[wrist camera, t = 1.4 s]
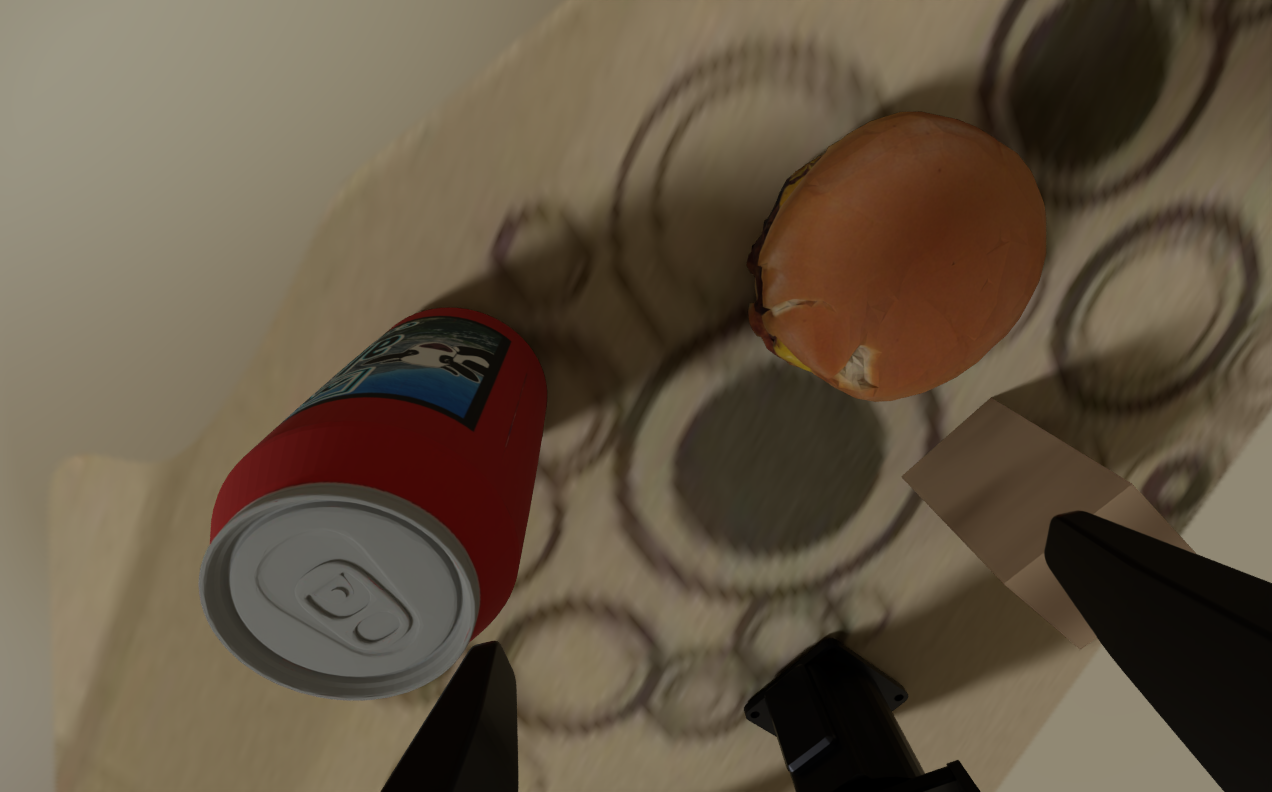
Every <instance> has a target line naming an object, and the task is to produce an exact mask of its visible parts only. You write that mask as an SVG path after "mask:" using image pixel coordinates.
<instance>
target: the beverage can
mask: <svg viewBox="0 0 1272 792" xmlns="http://www.w3.org/2000/svg"><path fill="white" fill-rule="evenodd" d="M546 406H547V386H546V380H545V376H544V373H543V370H542V367H541V365H540V363H539V361H538V359H537V357H536V355H535V354H534V352H533V351H532V349H531V348H530V346H529V345H528V344H527V343H526V342H525V341H524V339H523V338H522V337H521V336H520V335H519V334H517V333H516V332H515V331H514V330H513V329H511V328H510V327H509V326H507V325H506V324H504V323H503V322H501V321H499V320H497V319H495V318H493V317H491V316H489V315H486V314H483V313H481V312H477V311H474V310H469V309H462V308H436V309H430V310H425V311H422V312H419V313H416V314H414V315H411V316H409V317H407V318H405V319H403V320H402V321H400V322H399V323H397V324H396V325H395V326H393V327H392V328H391V329H390V330H389V331H387V332H386V333H385V334H384V335H382V336H381V337H380V338H379V339H378V340H376V341H375V342H374V343H373V344H371V345H370V346H369V347H368V348H367V349H366V350H364V351H363V352H362V353H361V354H360V355H358V356H357V357H356V358H355V359H354V360H353V361H351V362H350V363H349V364H348V365H347V366H346V367H344V368H343V369H342V370H341V371H340V372H339V373H337V374H336V375H335V376H334V377H333V378H332V379H331V380H329V381H328V382H327V383H326V384H325V385H324V386H323V387H321V388H320V389H319V390H318V391H317V392H316V393H315V394H313V395H312V396H311V397H310V398H309V399H308V400H307V401H305V402H304V403H303V404H302V405H301V406H300V407H299V408H297V409H296V410H295V411H294V412H293V413H292V414H291V415H290V416H289V417H288V418H286V419H285V420H284V421H283V422H282V423H281V424H280V425H279V426H278V427H276V428H275V429H274V430H273V431H272V432H271V433H270V434H269V435H268V436H267V437H265V438H264V439H263V440H262V441H261V442H260V443H259V444H258V445H257V446H255V447H254V448H253V449H252V450H251V451H250V452H249V453H248V454H247V455H246V456H244V457H243V458H242V459H241V461H240V462H239V463H238V464H237V465H236V466H235V467H234V468H233V470H232V471H231V472H230V473H229V475H228V476H227V478H226V480H225V481H224V483H223V485H222V487H221V489H220V491H219V494H218V496H217V499H216V503H215V506H214V509H213V514H212V519H211V534H210V545H209V547H208V549H207V551H206V553H205V555H204V558H203V561H202V564H201V568H200V575H199V595H200V600H201V605H202V608H203V611H204V614H205V616H206V618H207V621H208V623H209V625H210V627H211V628H212V630H213V632H214V633H215V635H216V636H217V637H218V639H219V640H220V641H221V643H222V644H223V645H224V646H225V647H226V648H227V649H228V650H229V651H230V652H231V653H232V654H233V655H234V656H235V657H236V658H237V659H238V660H239V661H240V662H241V663H243V664H244V665H246V666H247V667H249V668H250V669H251V670H253V671H254V672H256V673H257V674H259V675H261V676H263V677H264V678H266V679H268V680H270V681H272V682H274V683H276V684H278V685H281V686H283V687H286V688H289V689H291V690H294V691H297V692H300V693H304V694H308V695H312V696H316V697H321V698H328V699H336V700H373V699H381V698H387V697H391V696H395V695H399V694H403V693H407V692H409V691H412V690H414V689H417V688H419V687H421V686H424V685H425V684H427V683H429V682H431V681H433V680H434V679H436V678H437V677H439V676H440V675H441V674H443V673H444V672H445V671H447V670H448V669H449V668H450V667H451V666H452V665H453V664H454V663H455V662H456V661H457V659H458V658H459V657H460V656H461V655H462V653H463V652H464V650H465V649H466V647H467V645H468V643H469V642H470V641H472V640H473V639H474V638H475V637H476V636H477V635H479V634H480V633H481V632H482V631H483V630H484V629H485V628H486V627H487V626H488V625H489V624H490V623H491V622H492V621H493V620H494V619H495V618H496V617H497V615H498V614H499V613H500V611H501V610H502V608H503V607H504V606H505V604H506V602H507V600H508V599H509V597H510V595H511V593H512V590H513V588H514V585H515V582H516V579H517V574H518V569H519V564H520V558H521V553H522V548H523V543H524V538H525V532H526V527H527V522H528V517H529V511H530V506H531V500H532V494H533V489H534V483H535V477H536V471H537V465H538V459H539V453H540V447H541V441H542V435H543V427H544V420H545V413H546Z"/></svg>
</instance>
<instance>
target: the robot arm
mask: <svg viewBox="0 0 1272 792" xmlns="http://www.w3.org/2000/svg"><path fill="white" fill-rule="evenodd" d="M1044 556H1045V560H1046V563H1047V565H1048V567H1049V569H1050V570H1051V572H1052V573H1053V575H1054V576H1055V578H1056V579H1057V580H1058V582H1059V583H1060V585H1061V586H1062V588H1063V589H1064V591H1065V592H1066V593H1067V595H1068V596H1069V598H1070V599H1071V601H1072V602H1073V603H1074V605H1075V606H1076V608H1077V609H1078V611H1079V612H1080V614H1081V615H1082V616H1083V618H1084V619H1085V621H1086V622H1087V624H1088V625H1089V626H1090V628H1091V629H1092V631H1093V632H1094V634H1095V635H1096V636H1097V638H1098V639H1099V641H1100V642H1101V644H1102V645H1103V646H1104V648H1105V649H1106V650H1107V652H1108V653H1109V654H1110V656H1111V657H1112V658H1113V659H1114V661H1115V662H1116V663H1117V664H1118V666H1119V667H1120V668H1121V669H1122V671H1123V672H1124V673H1125V674H1126V675H1127V677H1128V678H1129V679H1130V680H1131V681H1132V683H1133V684H1134V685H1135V686H1136V687H1137V688H1138V690H1139V691H1140V692H1141V693H1142V694H1143V696H1144V697H1145V698H1146V699H1147V700H1148V702H1149V703H1150V704H1151V705H1152V706H1153V707H1154V709H1155V710H1156V711H1157V712H1158V713H1159V715H1160V716H1161V717H1162V718H1163V719H1164V721H1165V722H1166V723H1167V724H1168V725H1169V726H1170V728H1171V729H1172V730H1173V731H1174V733H1175V734H1176V735H1177V736H1178V737H1179V738H1180V740H1181V741H1182V742H1183V743H1184V744H1185V746H1186V747H1187V748H1188V749H1189V750H1190V752H1191V753H1192V754H1193V755H1194V756H1195V758H1197V760H1198V761H1199V762H1200V763H1201V765H1202V766H1203V767H1204V768H1205V769H1206V771H1207V772H1208V773H1209V774H1210V775H1211V776H1212V778H1213V779H1214V780H1215V781H1216V783H1217V784H1218V785H1219V786H1220V787H1221V788H1222V790H1223V791H1224V792H1272V583H1270V582H1267V581H1265V580H1262V579H1260V578H1257V577H1254V576H1251V575H1249V574H1246V573H1244V572H1241V571H1239V570H1236V569H1234V568H1231V567H1228V566H1226V565H1223V564H1221V563H1218V562H1216V561H1213V560H1210V559H1208V558H1205V557H1203V556H1200V555H1197V554H1195V553H1192V552H1190V551H1187V550H1184V549H1182V548H1179V547H1177V546H1174V545H1171V544H1169V543H1166V542H1164V541H1161V540H1159V539H1156V538H1153V537H1151V536H1148V535H1146V534H1143V533H1140V532H1138V531H1135V530H1133V529H1130V528H1127V527H1125V526H1122V525H1120V524H1117V523H1114V522H1112V521H1109V520H1107V519H1104V518H1101V517H1099V516H1096V515H1094V514H1091V513H1089V512H1085V511H1081V510H1076V511H1071V512H1067V513H1062V514H1058V515H1055V516H1054V517H1053V518H1052V519H1051V521H1050V525H1049V530H1048V535H1047V539H1046V544H1045V549H1044ZM907 698H908V694H907V692H906V690H905V688H904V687H903V686H902V685H900V684H899V683H898V682H896V681H895V680H893V679H892V678H890V677H889V676H887V675H886V674H885V673H883V672H882V671H880V670H879V669H877V668H876V667H875V666H873V665H872V664H870V663H869V662H867V661H866V660H864V659H863V658H862V657H860V656H859V655H857V654H856V653H854V652H853V651H851V650H850V649H849V648H847V647H846V646H844V645H843V644H841V643H840V642H839V641H837V640H835V639H826V640H824V641H822V642H821V643H820V644H819V645H818V646H816V647H815V648H814V649H813V650H812V651H810V652H809V653H808V654H807V655H805V656H804V657H803V658H802V659H801V660H799V661H798V662H797V663H796V664H795V665H793V666H792V667H791V668H790V669H789V670H787V671H786V672H785V673H784V674H783V675H781V676H780V677H779V678H778V679H776V680H775V681H774V682H773V683H772V684H770V685H769V686H768V687H767V688H766V689H764V690H763V691H762V692H761V693H760V694H758V695H757V696H756V697H755V698H753V699H752V700H751V701H750V702H749V703H747V704H746V705H745V707H744V711H745V715H746V718H747V719H748V720H749V721H751V722H752V723H754V724H756V725H757V726H759V727H761V728H763V729H764V730H766V731H768V732H769V733H771V734H773V735H775V736H776V737H777V739H778V742H779V745H780V748H781V751H782V755H783V758H784V761H785V764H786V767H787V769H788V771H789V772H790V775H791V778H792V781H793V784H794V787H795V790H796V792H980V790H979V789H978V787H977V786H976V784H975V783H974V782H973V780H972V779H971V777H970V776H969V774H968V773H967V771H966V770H965V769H964V767H963V766H962V764H961V763H960V761H959V760H956V761H953V762H950V763H947V766H946V767H943V768H940V769H937V770H935V771H932V772H929V773H926V774H925V772H924V771H923V769H922V767H921V765H920V763H919V761H918V759H917V758H916V756H915V754H914V752H913V750H912V748H911V746H910V745H909V743H908V741H907V739H906V737H905V735H904V733H903V732H902V730H901V728H900V726H899V724H898V722H897V720H896V719H895V717H894V715H893V713H892V711H893V710H894V709H896V708H897V707H898V706H900V705H901V704H902V703H904V702H905V701H906V700H907ZM381 792H518V736H517V690H516V679H515V675H514V672H513V669H512V667H511V665H510V663H509V661H508V658H507V656H506V654H505V652H504V650H503V648H502V646H501V644H500V643H499V642H498V641H490V642H486V643H481V644H477V645H474V646H473V647H472V648H471V649H470V650H469V651H468V653H467V655H466V656H465V658H464V659H463V661H462V663H461V664H460V666H459V667H458V669H457V671H456V672H455V674H454V675H453V677H452V678H451V680H450V682H449V683H448V685H447V686H446V688H445V690H444V691H443V693H442V694H441V696H440V698H439V699H438V701H437V702H436V704H435V706H434V707H433V709H432V710H431V712H430V713H429V715H428V717H427V718H426V720H425V721H424V723H423V725H422V726H421V728H420V729H419V731H418V733H417V734H416V736H415V737H414V739H413V741H412V742H411V744H410V745H409V747H408V749H407V750H406V752H405V753H404V755H403V756H402V758H401V760H400V761H399V763H398V764H397V766H396V768H395V769H394V771H393V772H392V774H391V776H390V777H389V779H388V780H387V782H386V784H385V785H384V787H383V788H382V790H381Z"/></svg>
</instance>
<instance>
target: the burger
mask: <svg viewBox="0 0 1272 792" xmlns="http://www.w3.org/2000/svg"><path fill="white" fill-rule="evenodd" d="M1045 256H1046V213H1045V205H1044V202H1043V199H1042V197H1041V194H1040V192H1039V189H1038V187H1037V184H1036V181H1035V179H1034V176H1033V174H1032V172H1031V171H1030V169H1029V168H1028V167H1027V165H1026V164H1025V163H1024V161H1023V160H1022V159H1021V158H1020V156H1019V155H1018V154H1017V153H1016V152H1014V151H1013V150H1011V149H1010V148H1008V147H1007V146H1005V145H1004V144H1002V143H1000V142H999V141H997V140H996V139H995V138H994V137H992V136H990V135H989V134H987V133H985V132H984V131H982V130H981V129H979V128H977V127H975V126H973V125H970V124H968V123H965V122H963V121H960V120H958V119H953V118H949V117H944V116H939V115H934V114H930V113H925V112H899V113H895V114H892V115H889V116H886V117H882V118H879V119H876V120H873V121H870V122H868V123H867V124H865V125H863V126H862V127H860V128H858V129H856V130H854V131H853V132H851V133H849V134H847V135H846V136H845V137H844V138H843V139H841V140H840V141H838V142H836V143H834V144H833V145H831V146H829V147H828V149H827V151H826V153H825V154H823V155H821V156H819V157H818V158H816V159H814V160H813V161H811V162H810V163H808V164H807V165H805V166H804V167H802V168H801V169H799V170H798V171H796V172H795V173H794V174H793V175H792V176H790V177H789V178H788V179H787V180H786V182H785V184H784V186H783V187H782V189H781V191H780V193H779V196H778V199H777V201H776V203H775V205H774V208H773V210H772V212H771V213H770V215H769V217H768V219H766V220H765V221H764V226H763V232H762V234H761V236H760V237H759V238H758V240H757V241H756V242H755V243H754V245H753V246H752V251H751V253H750V254H749V256H748V260H747V264H746V265H747V267H748V269H749V271H750V273H751V274H753V275H754V276H755V292H756V299H757V301H756V302H755V303H750V305H749V309H748V316H749V322H750V325H751V328H752V330H753V331H754V333H755V334H756V335H757V336H759V337H761V338H762V339H763V341H764V343H765V345H766V348H767V349H768V350H769V351H771V352H772V353H773V354H775V355H776V356H778V357H779V358H782V359H784V360H786V361H787V362H788V363H789V364H790V365H793V366H796V367H800V368H802V369H804V370H807V371H810V372H812V373H813V374H815V375H816V376H818V377H819V378H821V379H823V380H824V381H826V382H828V383H829V384H830V385H832V386H833V387H835V388H837V389H839V390H841V391H843V392H845V393H847V394H849V395H851V396H853V397H855V398H858V399H864V400H869V401H874V402H879V401H892V400H896V399H900V398H904V397H908V396H912V395H916V394H920V393H923V392H926V391H928V390H930V389H932V388H935V387H937V386H939V385H941V384H943V383H945V382H948V381H950V380H952V379H954V378H956V377H957V376H959V375H960V374H961V373H963V372H964V371H966V370H967V369H969V368H970V367H971V366H973V365H974V364H976V363H977V362H978V361H979V360H980V359H981V358H982V357H983V356H984V355H985V354H986V353H987V352H988V351H989V350H990V349H991V348H992V347H993V346H995V345H996V344H997V343H998V342H999V341H1000V340H1002V339H1003V338H1004V337H1005V336H1006V335H1007V334H1008V333H1009V331H1010V330H1011V329H1012V327H1013V326H1014V325H1015V324H1016V322H1017V321H1018V320H1019V318H1020V317H1021V315H1022V313H1023V311H1024V309H1025V308H1026V306H1027V304H1028V302H1029V300H1030V299H1031V297H1032V295H1033V293H1034V291H1035V289H1036V287H1037V285H1038V283H1039V281H1040V277H1041V273H1042V269H1043V264H1044V260H1045Z"/></svg>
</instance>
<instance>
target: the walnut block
mask: <svg viewBox="0 0 1272 792" xmlns="http://www.w3.org/2000/svg"><path fill="white" fill-rule="evenodd" d="M902 478H903V479H904V480H905V481H906V482H907V483H908V484H909V485H910V486H911V488H912V489H913V490H914V491H915V492H916V493H917V494H918V495H919V496H920V497H921V498H922V499H923V500H924V501H925V502H926V503H927V504H928V505H929V506H930V507H931V508H932V509H933V511H934V512H935V513H936V514H937V515H938V516H939V517H940V518H941V519H942V520H943V521H944V522H945V523H946V524H947V525H948V526H949V527H950V528H951V529H952V530H953V531H954V532H955V534H956V535H957V536H958V537H959V538H960V539H961V540H962V541H963V542H964V543H965V544H966V545H967V546H968V547H969V548H970V549H971V550H972V551H973V552H974V553H975V554H976V555H977V557H978V558H979V559H980V560H981V561H982V562H983V563H984V564H985V565H986V566H987V567H988V568H989V569H990V570H991V571H992V572H993V573H994V574H995V575H996V576H997V577H998V578H999V580H1000V581H1001V582H1002V583H1003V584H1004V585H1006V586H1007V587H1008V588H1009V589H1010V590H1011V591H1013V592H1014V593H1015V594H1016V595H1017V596H1018V597H1020V598H1021V599H1022V600H1023V601H1024V602H1025V603H1027V604H1028V605H1029V606H1030V607H1031V608H1032V609H1034V610H1035V611H1036V612H1037V613H1038V614H1039V615H1040V616H1042V617H1043V618H1044V619H1045V620H1046V621H1047V622H1049V623H1050V624H1051V625H1052V626H1053V627H1054V628H1056V629H1057V630H1058V631H1059V632H1060V633H1061V634H1063V635H1064V636H1065V637H1066V638H1067V639H1068V640H1070V641H1071V642H1072V643H1073V644H1074V645H1075V646H1077V647H1078V648H1079V649H1082V648H1083V647H1084V646H1086V645H1087V644H1089V643H1090V642H1091V641H1093V640H1094V639H1096V638H1097V636H1096V635H1095V634H1094V632H1093V631H1092V629H1091V628H1090V626H1089V625H1088V624H1087V622H1086V621H1085V619H1084V618H1083V616H1082V615H1081V614H1080V612H1079V611H1078V609H1077V608H1076V606H1075V605H1074V603H1073V602H1072V601H1071V599H1070V598H1069V596H1068V595H1067V593H1066V592H1065V591H1064V589H1063V588H1062V586H1061V585H1060V583H1059V582H1058V580H1057V579H1056V578H1055V576H1054V575H1053V573H1052V572H1051V570H1050V569H1049V567H1048V565H1047V563H1046V560H1045V556H1044V549H1045V544H1046V539H1047V535H1048V530H1049V525H1050V521H1051V519H1052V518H1053V517H1054V516H1055V515H1058V514H1062V513H1067V512H1071V511H1076V510H1081V511H1085V512H1089V513H1091V514H1094V515H1096V516H1099V517H1101V518H1104V519H1107V520H1109V521H1112V522H1114V523H1117V524H1120V525H1122V526H1125V527H1127V528H1130V529H1133V530H1135V531H1138V532H1140V533H1143V534H1146V535H1148V536H1151V537H1153V538H1156V539H1159V540H1161V541H1164V542H1166V543H1169V544H1171V545H1174V546H1177V547H1179V548H1182V549H1184V550H1187V551H1190V552H1192V553H1195V552H1194V551H1193V550H1192V549H1191V547H1190V546H1189V545H1188V544H1187V543H1186V542H1185V541H1184V540H1183V539H1182V538H1181V536H1180V535H1179V534H1178V533H1177V532H1176V531H1175V530H1174V529H1173V528H1172V527H1171V526H1170V524H1169V523H1168V522H1167V521H1166V520H1165V519H1164V518H1163V517H1162V516H1161V515H1160V514H1159V512H1158V511H1157V510H1156V509H1155V508H1154V507H1153V506H1152V505H1151V504H1150V503H1149V502H1148V501H1147V499H1146V498H1145V497H1144V496H1143V495H1142V494H1141V493H1140V492H1139V491H1138V490H1137V489H1136V487H1135V486H1134V485H1133V484H1132V483H1130V482H1128V481H1127V480H1125V479H1123V478H1122V477H1120V476H1118V475H1117V474H1115V473H1114V472H1112V471H1110V470H1109V469H1107V468H1105V467H1104V466H1102V465H1100V464H1099V463H1097V462H1096V461H1094V460H1092V459H1091V458H1089V457H1087V456H1086V455H1084V454H1083V453H1081V452H1079V451H1078V450H1076V449H1074V448H1073V447H1071V446H1069V445H1068V444H1066V443H1065V442H1063V441H1061V440H1060V439H1058V438H1056V437H1055V436H1053V435H1051V434H1050V433H1048V432H1047V431H1045V430H1043V429H1042V428H1040V427H1038V426H1037V425H1035V424H1034V423H1032V422H1030V421H1029V420H1027V419H1025V418H1024V417H1022V416H1020V415H1019V414H1017V413H1016V412H1014V411H1012V410H1011V409H1009V408H1007V407H1006V406H1004V405H1002V404H1001V403H999V402H998V401H996V400H994V399H993V398H990V399H989V400H988V401H987V402H985V403H984V404H983V405H982V406H981V407H980V408H979V409H977V410H976V411H975V412H974V413H973V414H972V415H971V416H970V417H968V418H967V419H966V420H965V421H964V422H963V423H962V424H960V425H959V426H958V427H957V428H956V429H955V430H954V431H953V432H951V433H950V434H949V435H948V436H947V437H946V438H945V439H943V440H942V441H941V442H940V443H939V444H938V445H937V446H936V447H934V448H933V449H932V450H931V451H930V452H929V453H928V454H927V455H925V456H924V457H923V458H922V459H921V460H920V461H919V462H917V463H916V464H915V465H914V466H913V467H912V468H911V469H910V470H908V471H907V472H906V473H905V474H904V475H903V476H902ZM1195 554H1196V553H1195Z"/></svg>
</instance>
